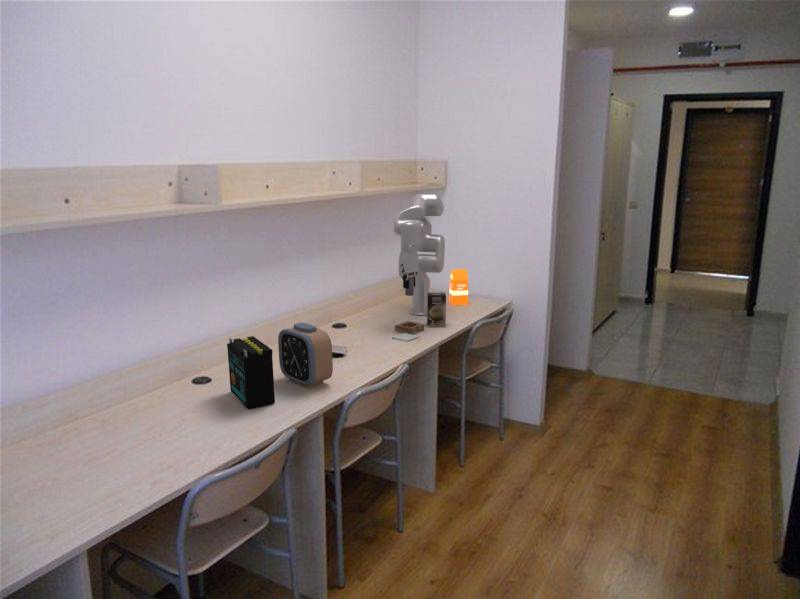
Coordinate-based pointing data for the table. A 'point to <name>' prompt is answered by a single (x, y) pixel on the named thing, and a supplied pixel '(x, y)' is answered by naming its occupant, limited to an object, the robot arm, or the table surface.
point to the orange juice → (458, 287)
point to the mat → (406, 337)
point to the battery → (251, 372)
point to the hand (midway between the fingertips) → (409, 286)
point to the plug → (410, 285)
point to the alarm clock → (305, 355)
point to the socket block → (409, 327)
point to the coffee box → (436, 310)
